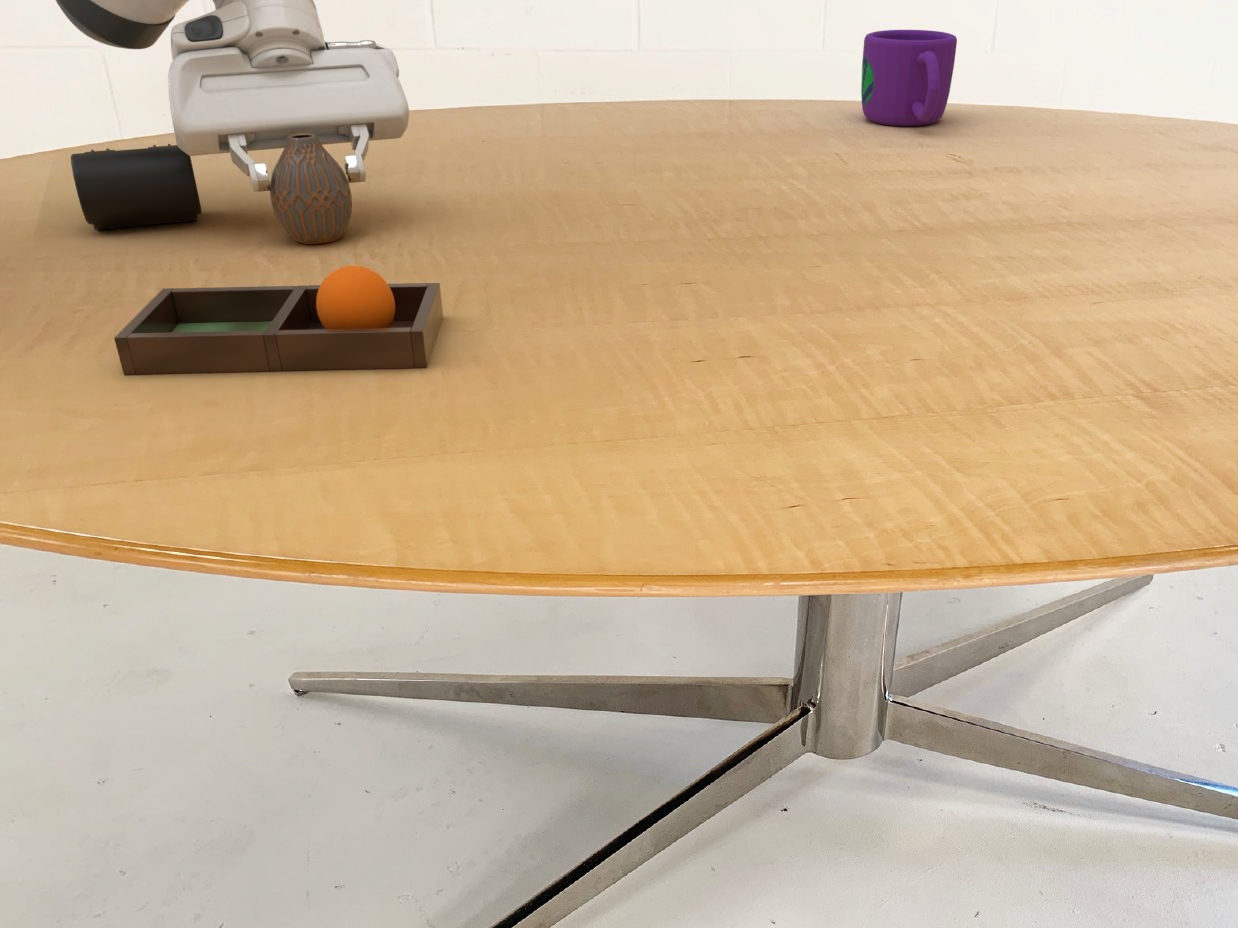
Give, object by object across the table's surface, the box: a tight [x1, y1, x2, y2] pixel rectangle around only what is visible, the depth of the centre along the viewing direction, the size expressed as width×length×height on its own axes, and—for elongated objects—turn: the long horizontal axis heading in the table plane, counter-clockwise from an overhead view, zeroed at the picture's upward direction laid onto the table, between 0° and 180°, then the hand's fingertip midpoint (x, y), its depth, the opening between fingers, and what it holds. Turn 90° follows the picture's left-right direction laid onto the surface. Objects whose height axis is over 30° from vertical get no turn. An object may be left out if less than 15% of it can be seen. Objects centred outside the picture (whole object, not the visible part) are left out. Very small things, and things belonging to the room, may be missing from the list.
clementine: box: [316, 265, 395, 329], centre depth 79 cm, size 5×5×5 cm
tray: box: [114, 282, 444, 377], centre depth 80 cm, size 20×10×3 cm, turn 93°
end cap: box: [70, 143, 203, 231], centre depth 108 cm, size 10×7×7 cm
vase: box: [269, 133, 353, 245], centre depth 103 cm, size 7×7×9 cm
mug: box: [860, 29, 958, 127], centre depth 145 cm, size 17×11×10 cm, turn 6°
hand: (309, 183), depth 102 cm, fingers closed on vase, 7 cm apart
